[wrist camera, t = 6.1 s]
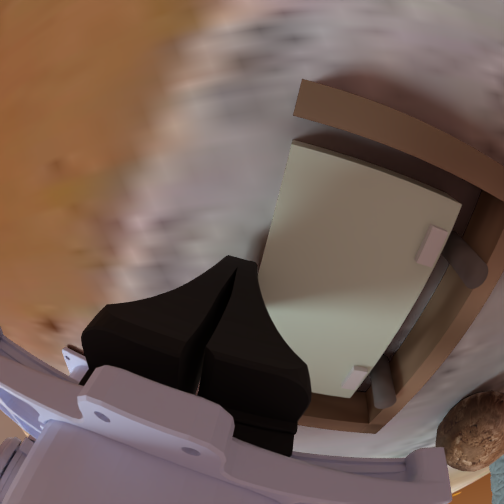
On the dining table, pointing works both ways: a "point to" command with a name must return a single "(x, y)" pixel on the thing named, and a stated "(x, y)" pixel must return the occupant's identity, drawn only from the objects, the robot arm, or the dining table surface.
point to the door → (348, 260)
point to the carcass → (455, 251)
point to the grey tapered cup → (497, 480)
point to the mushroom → (473, 432)
